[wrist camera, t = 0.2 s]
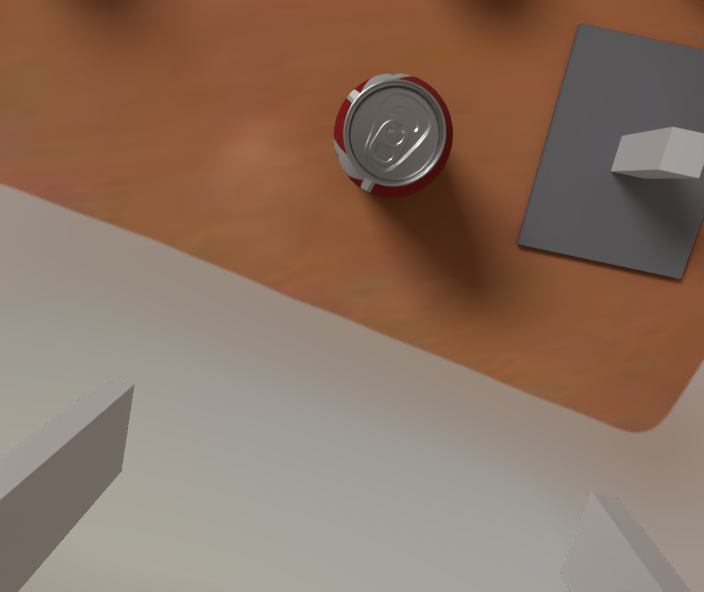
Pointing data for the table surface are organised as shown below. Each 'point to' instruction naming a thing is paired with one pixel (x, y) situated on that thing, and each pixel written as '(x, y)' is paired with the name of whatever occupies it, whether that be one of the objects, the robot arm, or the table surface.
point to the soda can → (393, 135)
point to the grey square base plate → (623, 155)
